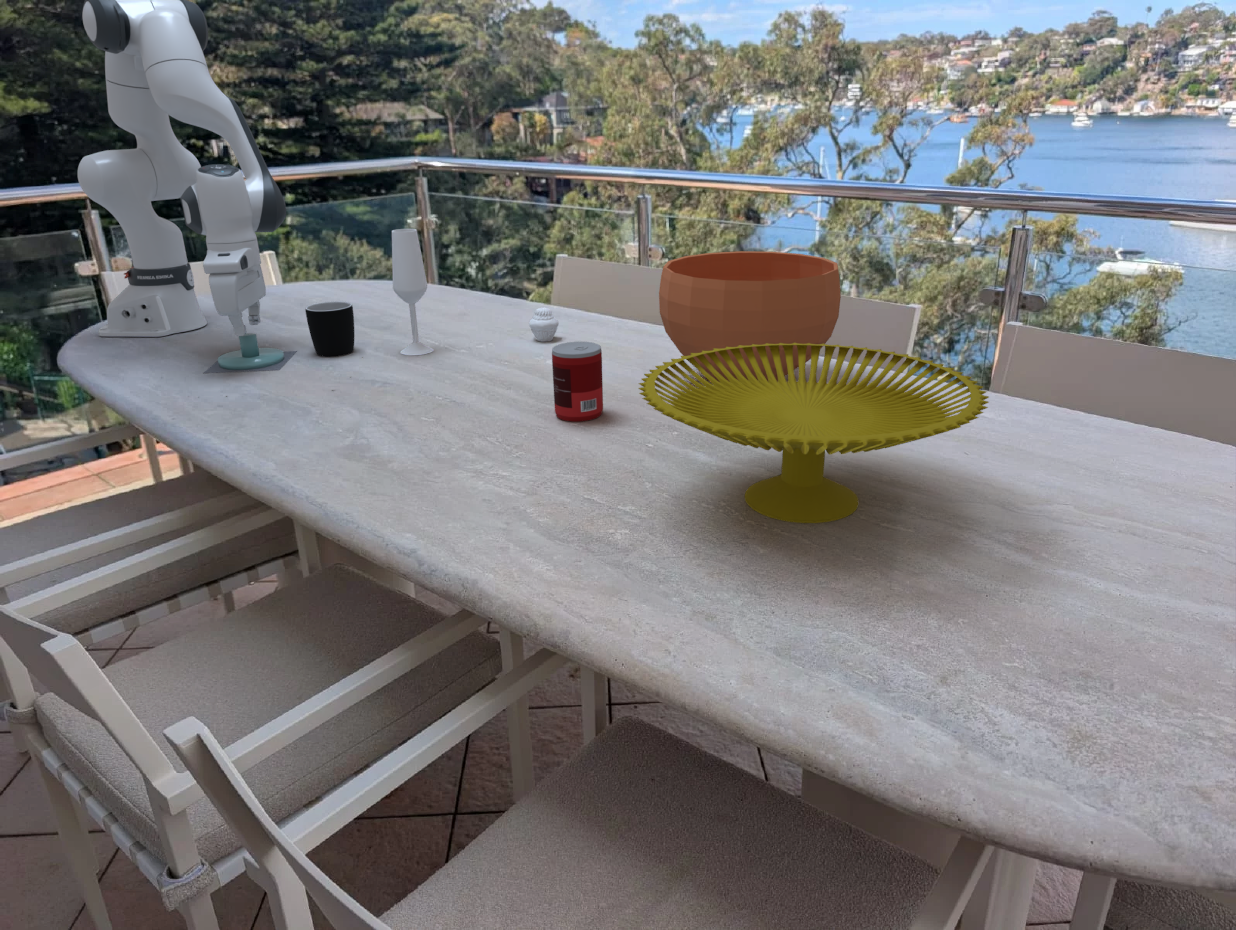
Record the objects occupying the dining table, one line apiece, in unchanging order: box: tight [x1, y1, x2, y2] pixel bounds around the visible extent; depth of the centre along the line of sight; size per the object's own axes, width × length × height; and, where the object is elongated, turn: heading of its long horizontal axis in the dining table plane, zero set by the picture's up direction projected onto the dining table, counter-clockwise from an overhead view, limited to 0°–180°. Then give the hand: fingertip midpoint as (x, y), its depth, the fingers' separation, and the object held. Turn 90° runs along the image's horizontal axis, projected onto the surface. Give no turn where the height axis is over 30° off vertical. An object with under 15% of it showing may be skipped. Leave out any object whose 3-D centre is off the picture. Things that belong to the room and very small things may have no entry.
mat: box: [203, 350, 298, 374], centre depth 177 cm, size 14×14×1 cm
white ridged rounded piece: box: [528, 306, 559, 343], centre depth 191 cm, size 6×6×7 cm
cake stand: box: [638, 343, 990, 524], centre depth 111 cm, size 40×40×15 cm
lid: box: [217, 333, 284, 370], centre depth 176 cm, size 12×12×5 cm
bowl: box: [658, 250, 842, 383], centre depth 156 cm, size 30×30×20 cm
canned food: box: [551, 341, 604, 423], centre depth 144 cm, size 8×8×11 cm
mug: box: [304, 300, 355, 358], centre depth 182 cm, size 12×9×10 cm
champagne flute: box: [391, 228, 434, 356], centre depth 181 cm, size 7×7×24 cm
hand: (248, 329), depth 175 cm, fingers open, 8 cm apart
